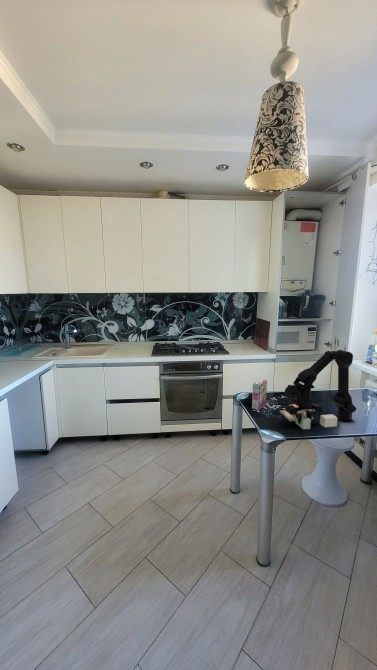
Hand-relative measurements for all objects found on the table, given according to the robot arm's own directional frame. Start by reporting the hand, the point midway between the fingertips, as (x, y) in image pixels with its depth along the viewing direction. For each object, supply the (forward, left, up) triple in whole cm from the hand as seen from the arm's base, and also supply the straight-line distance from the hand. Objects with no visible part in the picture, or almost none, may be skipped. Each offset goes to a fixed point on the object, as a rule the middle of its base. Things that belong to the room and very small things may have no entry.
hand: (302, 423), depth 138 cm
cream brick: (-14, +2, -1) cm, 14 cm away
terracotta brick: (-3, -11, 0) cm, 12 cm away
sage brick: (0, 0, -1) cm, 1 cm away
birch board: (-3, -11, -1) cm, 12 cm away
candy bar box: (+13, -26, -1) cm, 30 cm away
